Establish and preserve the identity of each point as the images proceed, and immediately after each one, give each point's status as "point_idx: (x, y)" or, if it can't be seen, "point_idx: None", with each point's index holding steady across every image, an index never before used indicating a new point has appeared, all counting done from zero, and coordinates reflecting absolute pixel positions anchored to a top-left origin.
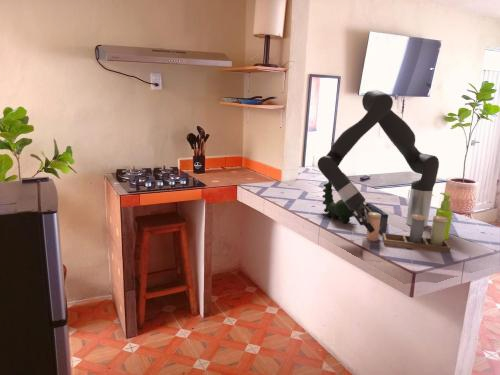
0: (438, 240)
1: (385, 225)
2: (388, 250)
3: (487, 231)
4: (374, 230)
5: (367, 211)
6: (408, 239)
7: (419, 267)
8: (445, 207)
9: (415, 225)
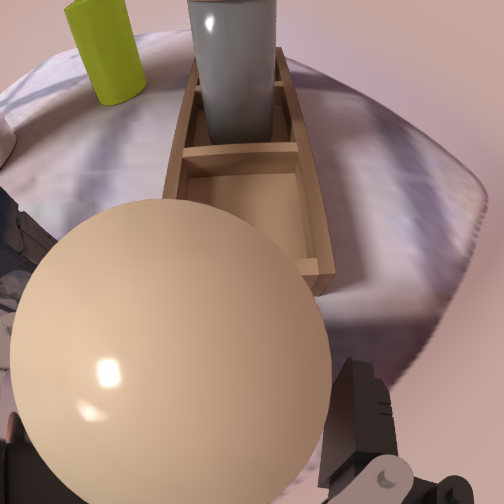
0: None
1: (51, 246)
2: (340, 266)
3: (70, 54)
4: (353, 359)
5: (22, 497)
6: (189, 146)
7: (446, 164)
8: None
9: (271, 30)
